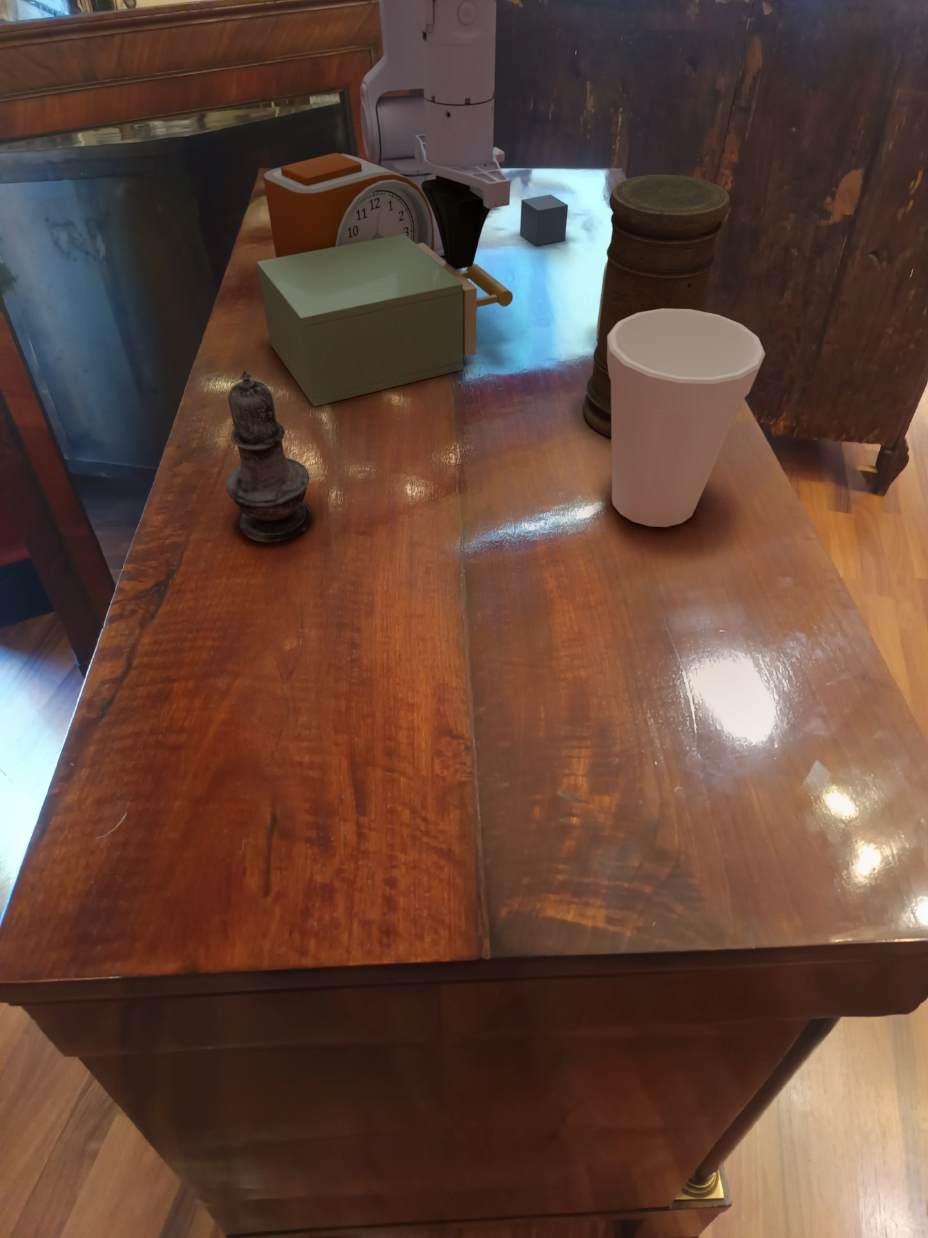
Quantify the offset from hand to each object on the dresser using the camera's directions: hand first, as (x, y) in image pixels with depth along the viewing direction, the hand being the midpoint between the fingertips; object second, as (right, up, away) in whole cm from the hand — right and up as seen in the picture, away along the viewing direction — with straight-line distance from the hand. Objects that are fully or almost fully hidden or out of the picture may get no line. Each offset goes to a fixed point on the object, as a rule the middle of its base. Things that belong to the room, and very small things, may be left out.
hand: (460, 265), depth 76 cm
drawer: (-5, -6, +3) cm, 8 cm away
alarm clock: (-11, +1, +11) cm, 15 cm away
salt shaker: (-14, -26, -15) cm, 33 cm away
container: (+15, -15, -5) cm, 22 cm away
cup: (+15, -24, -14) cm, 32 cm away
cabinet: (-9, -8, +2) cm, 12 cm away
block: (+10, +13, +22) cm, 28 cm away
